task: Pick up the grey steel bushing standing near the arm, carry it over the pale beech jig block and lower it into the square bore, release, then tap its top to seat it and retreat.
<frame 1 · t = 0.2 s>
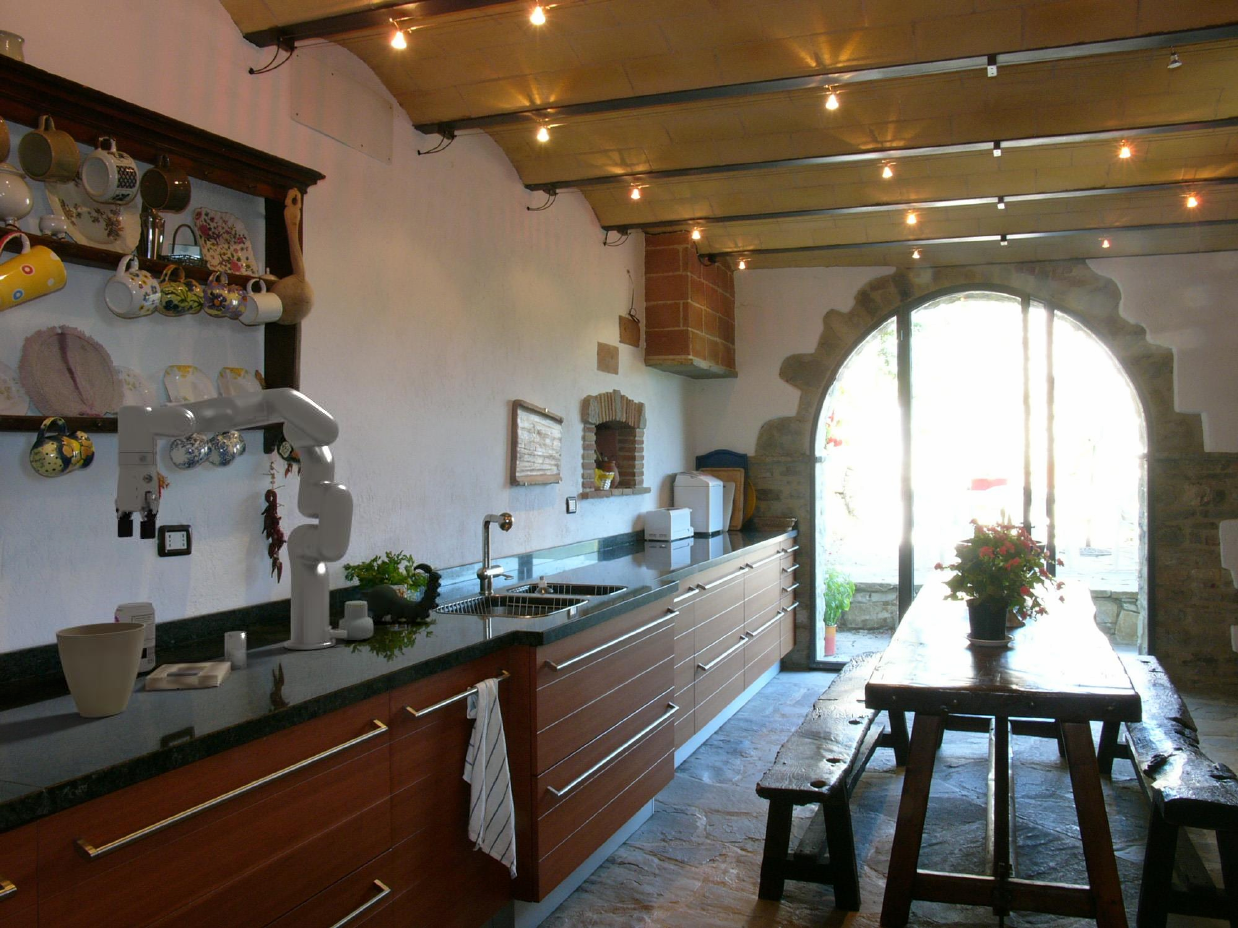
hand: (136, 538, 208), 31 cm above the counter, tool pointing down, fingers open, 9 cm apart
air freshener: (355, 639, 254), on the counter
bushing: (235, 667, 217), on the counter
plant pot: (101, 713, 176), on the counter
toy figurine: (399, 622, 282), on the counter
jig: (189, 680, 203), on the counter
supplement can: (134, 670, 214), on the counter
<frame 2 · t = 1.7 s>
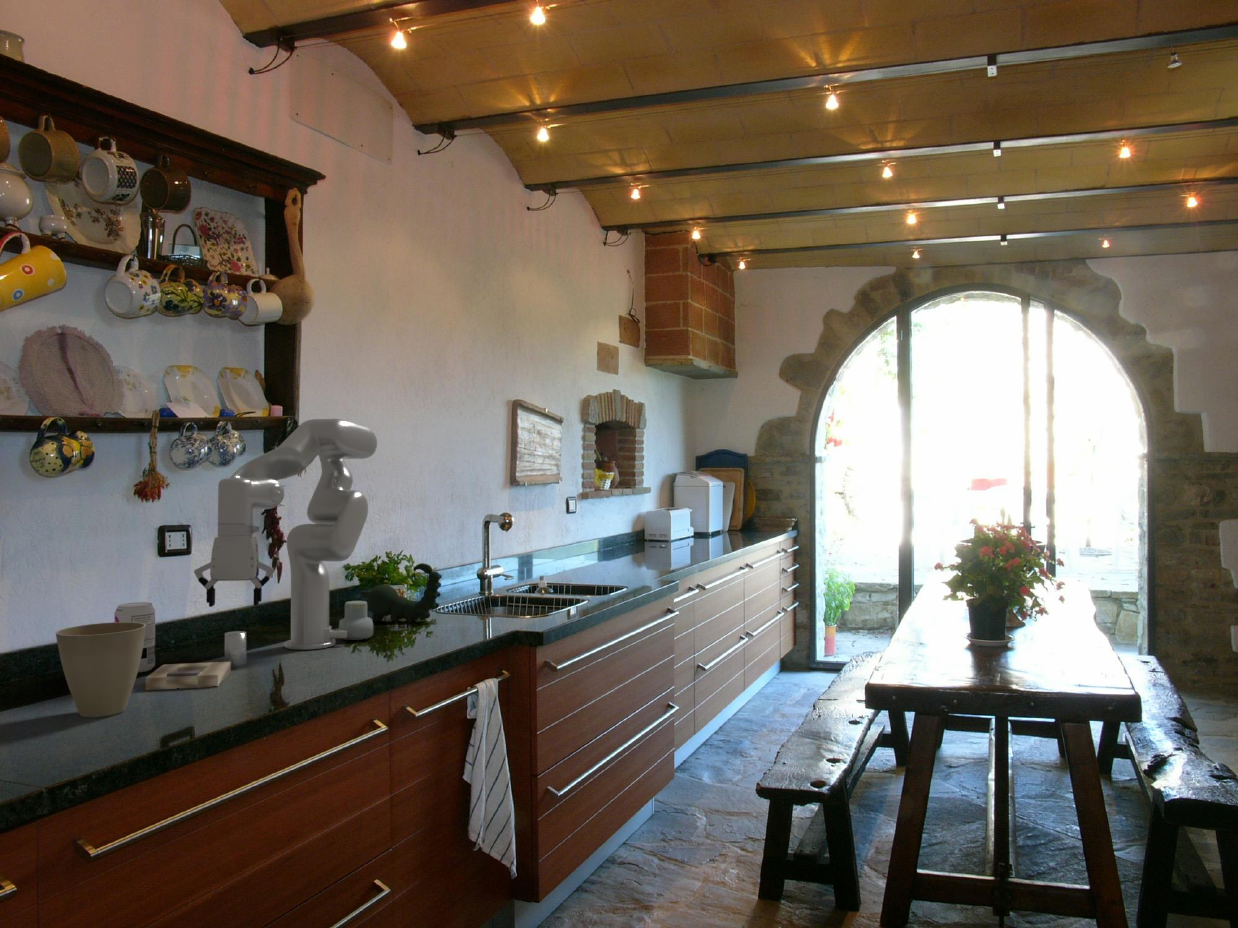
hand: (234, 605, 217), 14 cm above the counter, tool pointing down, fingers open, 9 cm apart
nothing on the counter moved.
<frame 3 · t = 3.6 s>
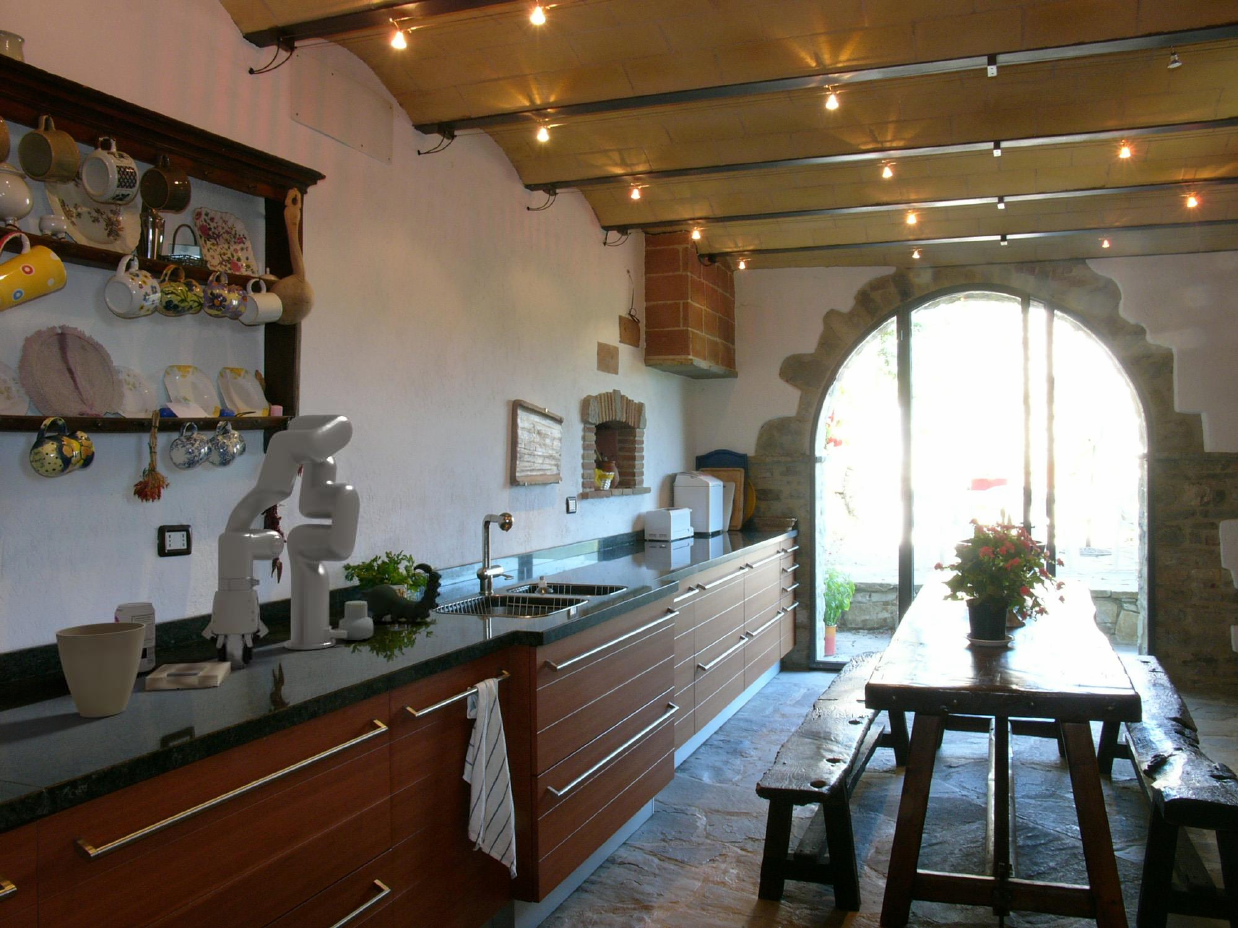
hand: (235, 662, 217), 1 cm above the counter, tool pointing down, fingers closed on bushing, 4 cm apart
bushing: (235, 667, 217), on the counter, touching gripper
everything else where it was.
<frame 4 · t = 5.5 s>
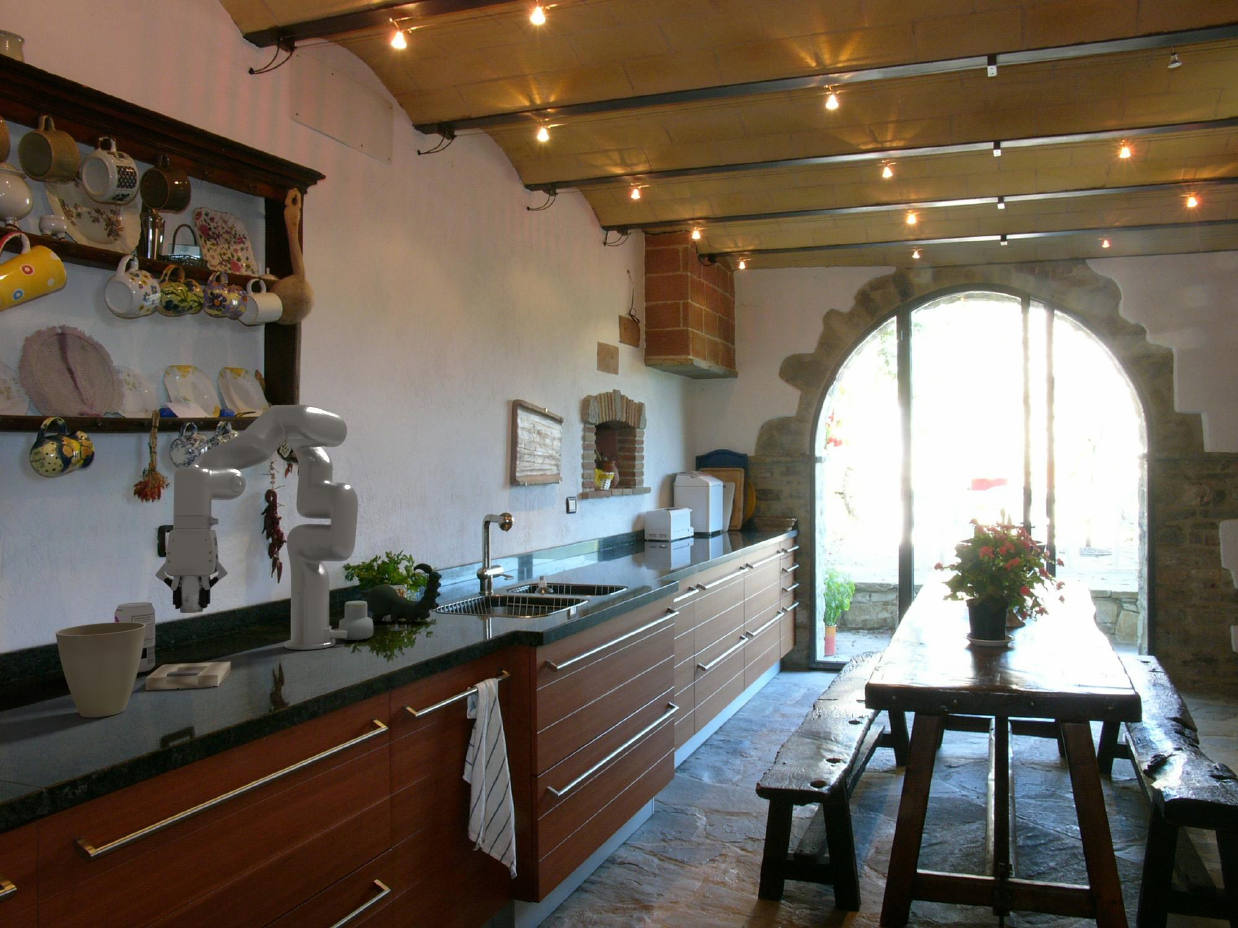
hand: (191, 607, 204), 16 cm above the counter, tool pointing down, fingers closed on bushing, 4 cm apart
bushing: (191, 611, 204), point 15 cm above the counter, touching gripper
everything else where it was.
when the fingers open (3 cm above the counter, at t = 7.5 s): bushing drops 2 cm, resting in jig.
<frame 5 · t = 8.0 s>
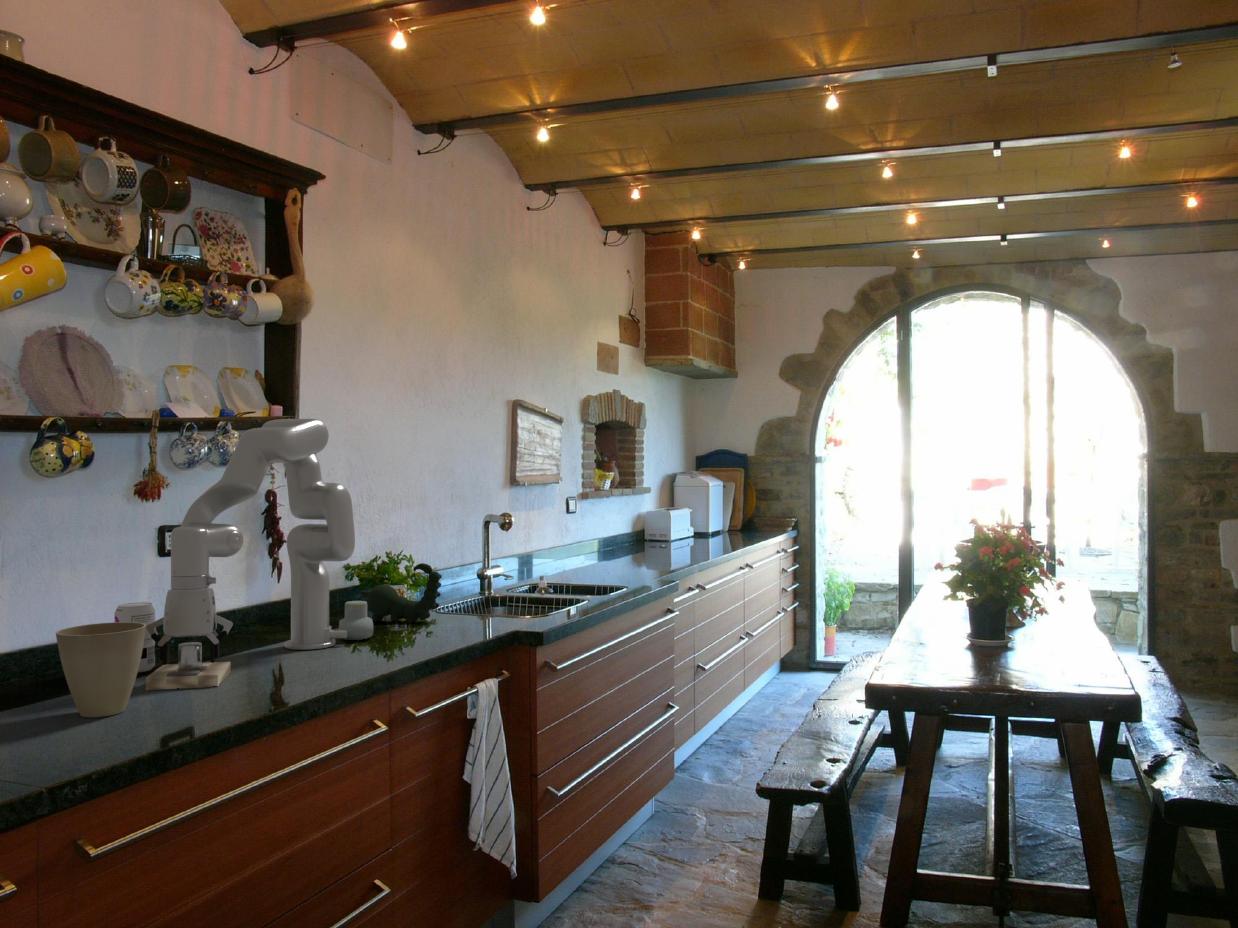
hand: (189, 662, 203), 4 cm above the counter, tool pointing down, fingers open, 9 cm apart
bushing: (190, 681, 203), resting in jig
everything else where it was.
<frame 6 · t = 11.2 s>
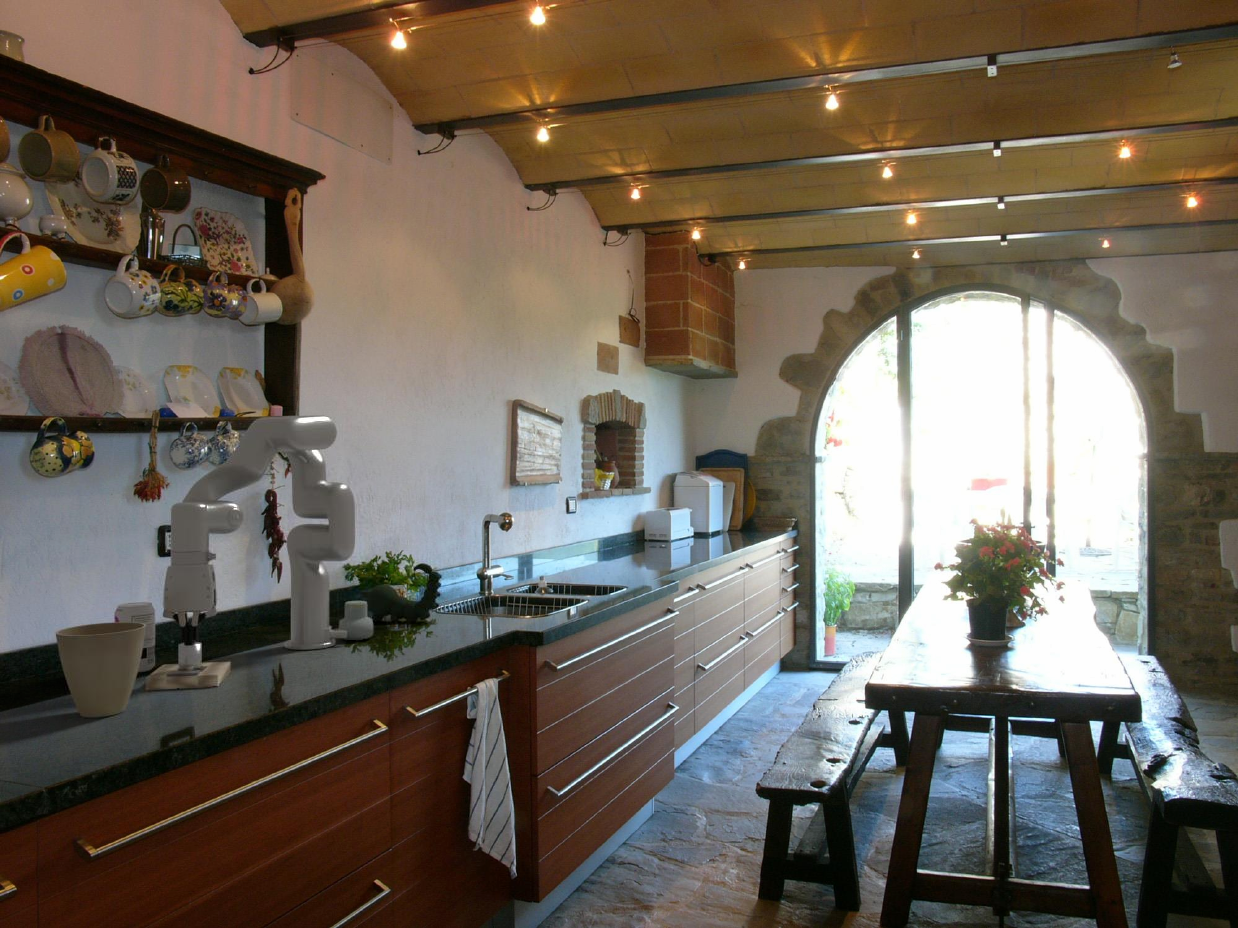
hand: (189, 643, 203), 8 cm above the counter, tool pointing down, fingers closed
bushing: (190, 680, 203), resting in jig, touching gripper
everything else where it was.
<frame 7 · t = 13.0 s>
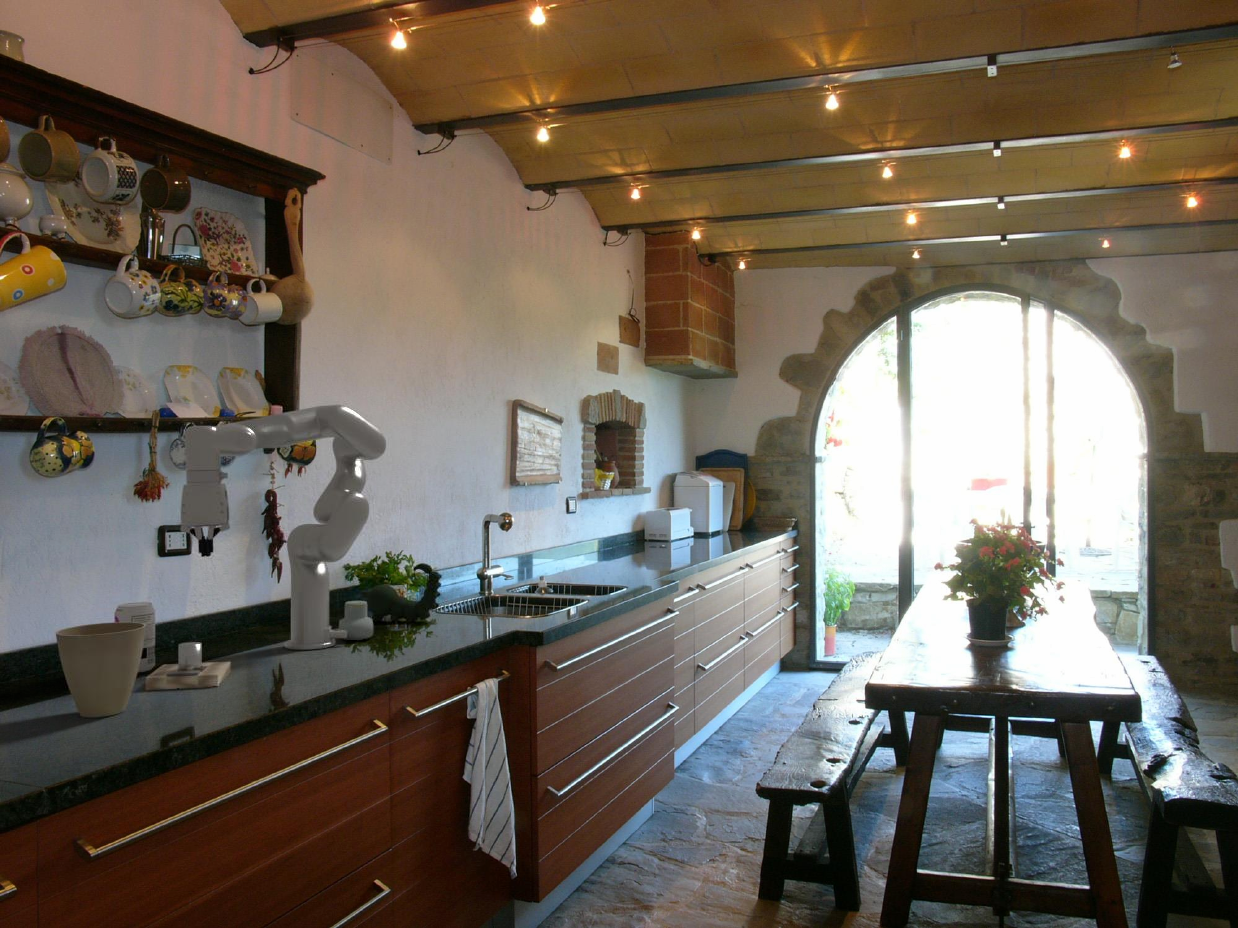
hand: (206, 555, 221), 25 cm above the counter, tool pointing down, fingers closed
bushing: (190, 681, 203), resting in jig
everything else where it was.
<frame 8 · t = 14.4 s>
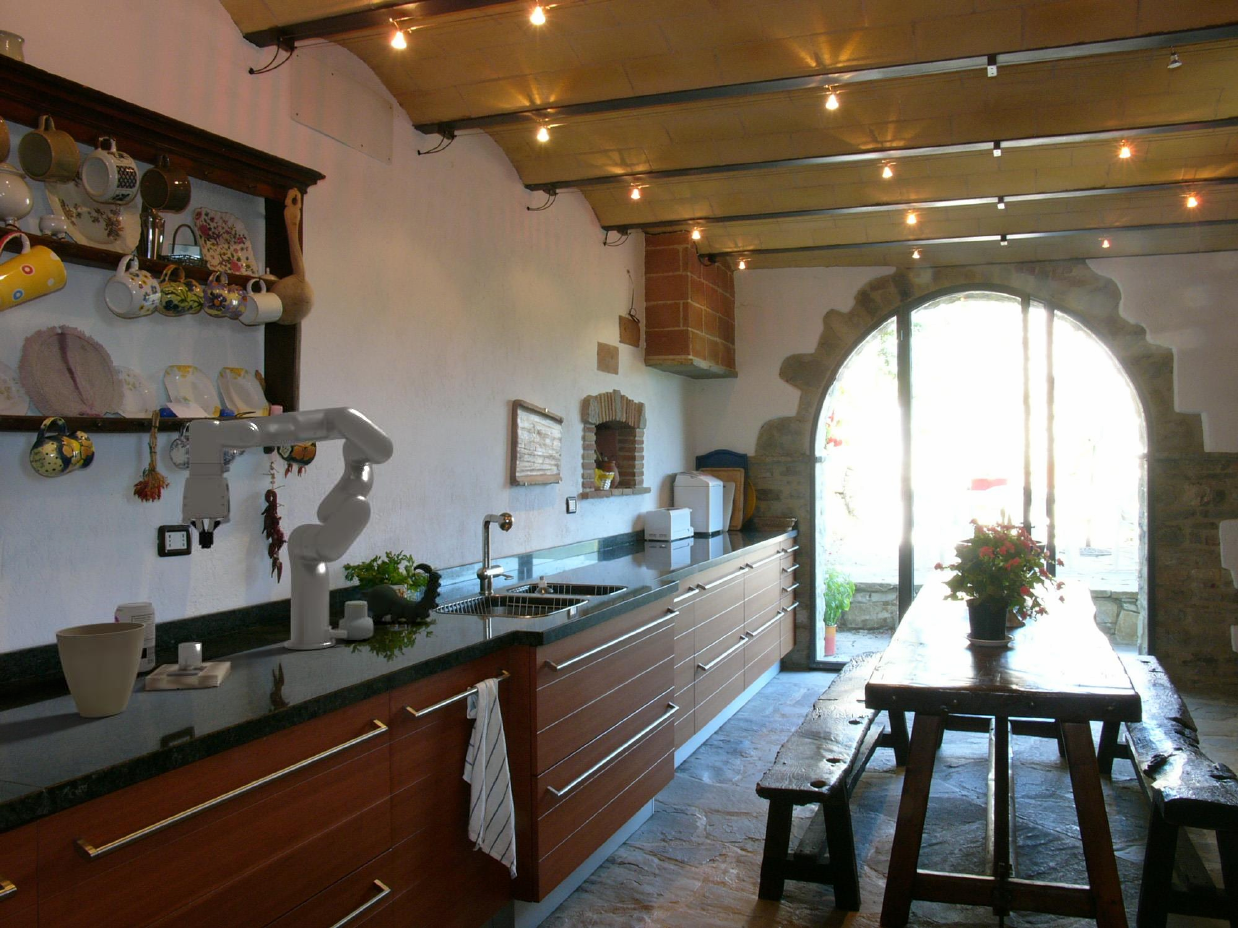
hand: (206, 548, 224), 27 cm above the counter, tool pointing down, fingers closed
nothing on the counter moved.
at the end: bushing 0.1 cm off-centre on the jig, point 0.0 cm above the jig's base; bushing tilted 0°; the gripper is holding nothing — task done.
